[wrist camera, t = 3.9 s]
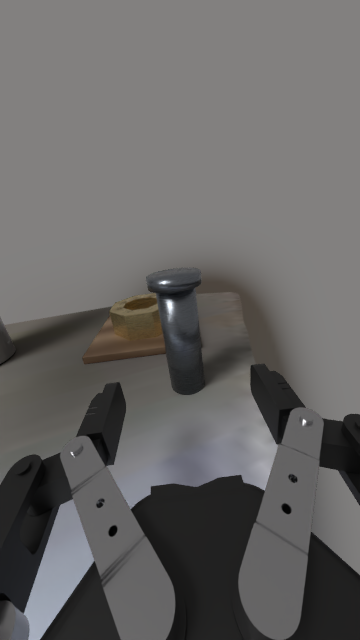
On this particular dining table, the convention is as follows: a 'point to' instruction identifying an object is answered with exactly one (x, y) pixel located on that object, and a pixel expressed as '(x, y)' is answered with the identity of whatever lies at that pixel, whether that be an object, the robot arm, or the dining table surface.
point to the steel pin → (180, 326)
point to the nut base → (120, 346)
